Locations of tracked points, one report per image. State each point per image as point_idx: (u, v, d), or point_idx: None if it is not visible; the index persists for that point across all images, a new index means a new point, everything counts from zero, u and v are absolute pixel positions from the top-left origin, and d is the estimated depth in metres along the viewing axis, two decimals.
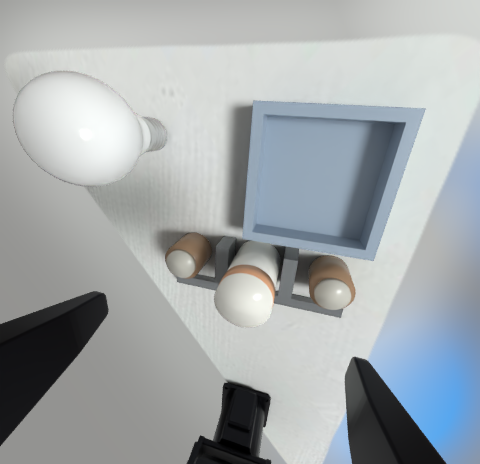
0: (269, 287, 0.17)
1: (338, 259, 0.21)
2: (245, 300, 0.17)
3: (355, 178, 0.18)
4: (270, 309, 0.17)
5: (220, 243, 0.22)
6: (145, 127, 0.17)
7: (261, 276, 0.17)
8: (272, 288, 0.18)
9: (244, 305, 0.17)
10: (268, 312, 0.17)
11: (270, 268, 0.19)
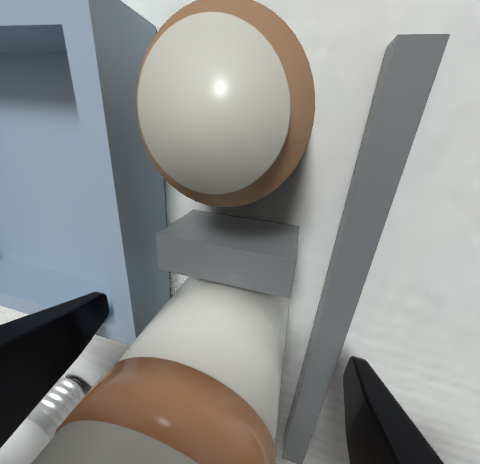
0: (81, 412, 0.04)
1: None
2: None
3: (13, 104, 0.09)
4: None
5: None
6: None
7: None
8: (112, 388, 0.04)
9: None
10: None
11: (144, 330, 0.06)
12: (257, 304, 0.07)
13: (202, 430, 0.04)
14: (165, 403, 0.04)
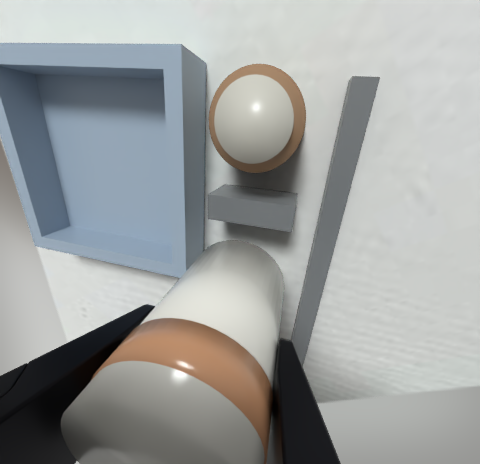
0: (117, 358, 0.05)
1: None
2: (134, 461, 0.05)
3: (101, 111, 0.13)
4: (137, 409, 0.04)
5: None
6: None
7: None
8: (140, 340, 0.05)
9: None
10: (153, 419, 0.04)
11: (159, 302, 0.07)
12: (257, 282, 0.08)
13: (215, 367, 0.05)
14: (185, 348, 0.05)
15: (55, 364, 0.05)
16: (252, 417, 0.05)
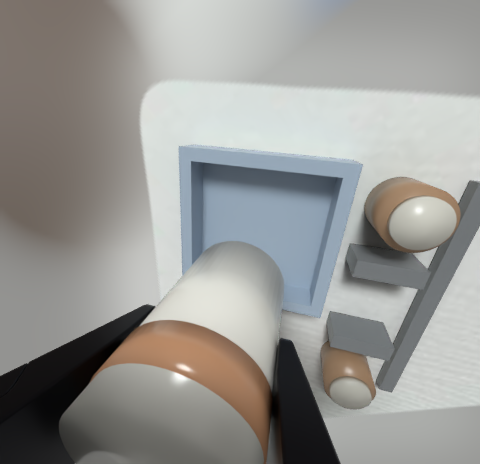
0: (115, 360, 0.05)
1: (370, 196, 0.15)
2: None
3: (256, 187, 0.16)
4: (135, 413, 0.04)
5: (329, 336, 0.18)
6: None
7: None
8: (139, 342, 0.05)
9: None
10: (152, 423, 0.04)
11: (159, 304, 0.07)
12: (256, 283, 0.08)
13: (214, 370, 0.05)
14: (184, 350, 0.05)
15: (55, 364, 0.05)
16: (251, 420, 0.05)
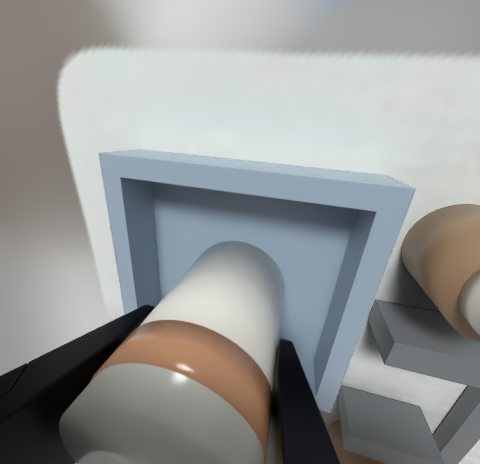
0: (115, 360, 0.05)
1: (414, 234, 0.09)
2: None
3: (232, 215, 0.10)
4: (135, 413, 0.04)
5: (342, 430, 0.12)
6: None
7: None
8: (139, 342, 0.05)
9: None
10: (152, 422, 0.04)
11: (159, 304, 0.07)
12: (257, 283, 0.08)
13: (214, 369, 0.05)
14: (184, 350, 0.05)
15: (55, 364, 0.05)
16: (251, 420, 0.05)
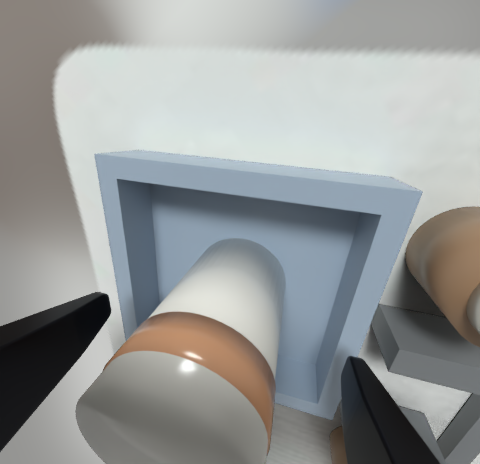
0: (128, 348, 0.05)
1: (419, 237, 0.09)
2: (144, 445, 0.05)
3: (232, 218, 0.10)
4: (150, 394, 0.04)
5: None
6: None
7: None
8: (150, 332, 0.06)
9: (163, 454, 0.05)
10: (165, 403, 0.04)
11: (166, 298, 0.07)
12: (259, 278, 0.08)
13: (222, 357, 0.05)
14: (193, 339, 0.05)
15: None
16: (256, 403, 0.05)
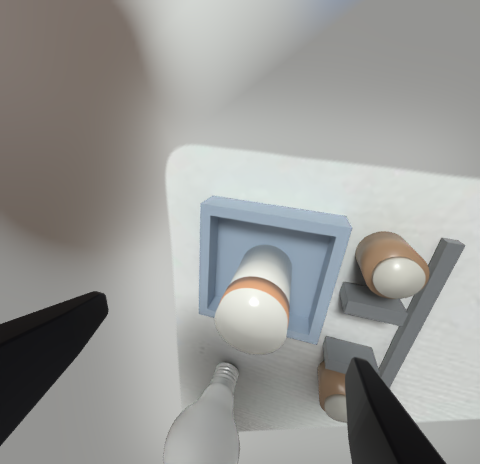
0: (234, 288, 0.14)
1: (360, 246, 0.17)
2: (243, 322, 0.14)
3: (264, 233, 0.19)
4: (251, 298, 0.13)
5: (325, 359, 0.21)
6: (212, 390, 0.23)
7: (225, 293, 0.15)
8: (241, 283, 0.14)
9: (250, 324, 0.14)
10: (256, 301, 0.13)
11: (238, 273, 0.16)
12: (280, 265, 0.17)
13: (271, 290, 0.14)
14: (260, 284, 0.14)
15: None
16: (284, 307, 0.14)
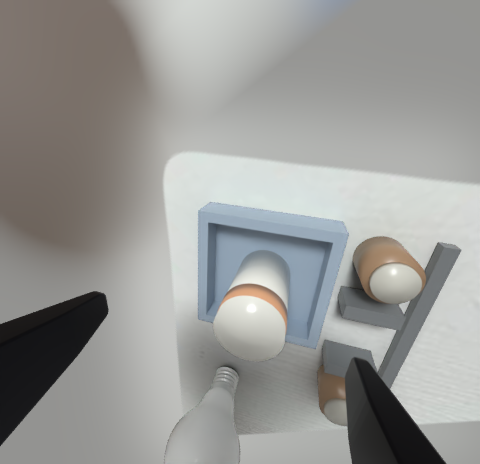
0: (232, 296, 0.14)
1: (357, 251, 0.18)
2: (241, 329, 0.14)
3: (261, 239, 0.19)
4: (249, 306, 0.13)
5: (324, 363, 0.21)
6: (212, 395, 0.23)
7: (223, 300, 0.15)
8: (239, 290, 0.14)
9: (248, 332, 0.14)
10: (254, 309, 0.13)
11: (236, 279, 0.16)
12: (278, 271, 0.17)
13: (269, 298, 0.14)
14: (257, 292, 0.14)
15: None
16: (281, 314, 0.14)
